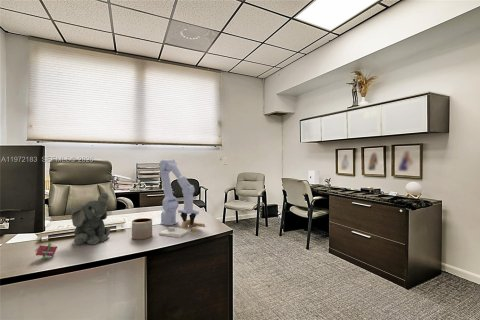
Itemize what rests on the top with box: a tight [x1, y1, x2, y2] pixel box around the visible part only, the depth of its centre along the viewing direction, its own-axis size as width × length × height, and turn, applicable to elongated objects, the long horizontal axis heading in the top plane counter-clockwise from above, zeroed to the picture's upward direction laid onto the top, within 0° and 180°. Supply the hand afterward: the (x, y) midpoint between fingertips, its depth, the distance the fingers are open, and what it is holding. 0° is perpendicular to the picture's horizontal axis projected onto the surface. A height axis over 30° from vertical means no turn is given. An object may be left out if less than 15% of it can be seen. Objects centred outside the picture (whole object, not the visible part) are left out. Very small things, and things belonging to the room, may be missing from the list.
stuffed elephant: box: [70, 192, 111, 245], centre depth 127 cm, size 19×21×27 cm
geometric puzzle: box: [35, 241, 58, 260], centre depth 104 cm, size 7×7×8 cm
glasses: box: [181, 218, 206, 232], centre depth 150 cm, size 10×12×4 cm
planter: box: [131, 217, 153, 241], centre depth 133 cm, size 11×11×10 cm
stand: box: [158, 226, 192, 238], centre depth 139 cm, size 14×12×3 cm
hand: (188, 224), depth 151 cm, fingers open, 4 cm apart
